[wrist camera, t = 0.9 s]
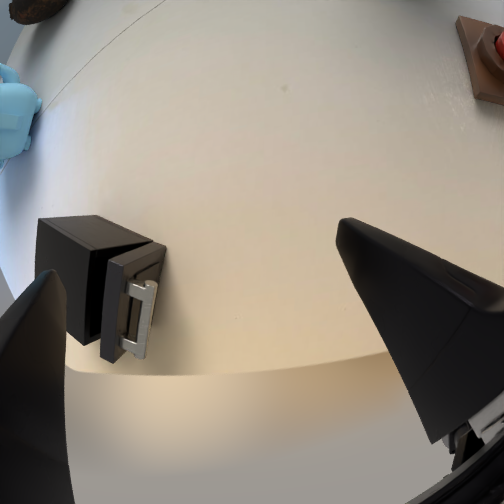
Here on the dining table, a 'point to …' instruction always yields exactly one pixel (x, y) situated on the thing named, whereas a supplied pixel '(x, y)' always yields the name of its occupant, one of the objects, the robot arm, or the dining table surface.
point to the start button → (500, 46)
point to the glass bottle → (34, 10)
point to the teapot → (15, 114)
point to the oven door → (130, 301)
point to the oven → (82, 264)
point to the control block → (483, 58)
